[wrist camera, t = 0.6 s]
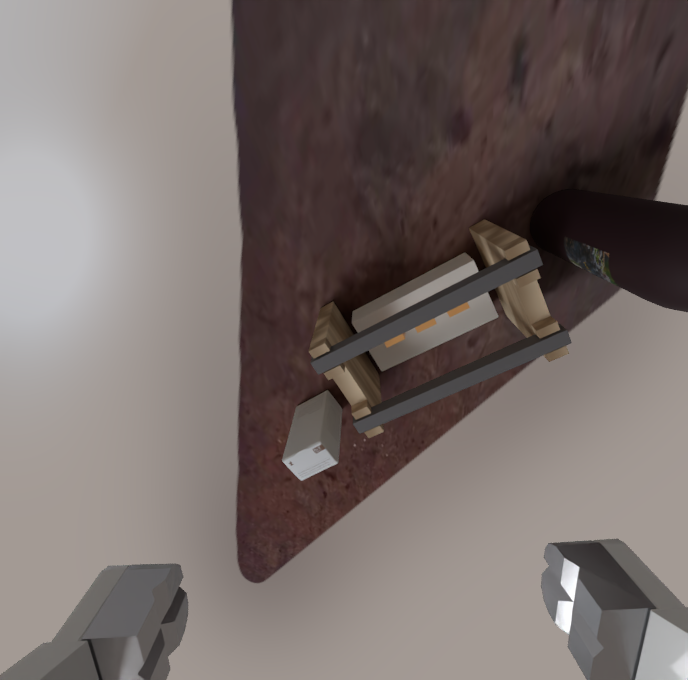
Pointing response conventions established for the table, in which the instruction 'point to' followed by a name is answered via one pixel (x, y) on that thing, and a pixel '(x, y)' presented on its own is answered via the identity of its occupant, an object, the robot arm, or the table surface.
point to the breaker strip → (445, 326)
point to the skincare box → (314, 436)
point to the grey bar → (463, 378)
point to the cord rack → (515, 296)
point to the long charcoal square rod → (428, 309)
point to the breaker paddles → (427, 324)
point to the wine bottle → (619, 241)
